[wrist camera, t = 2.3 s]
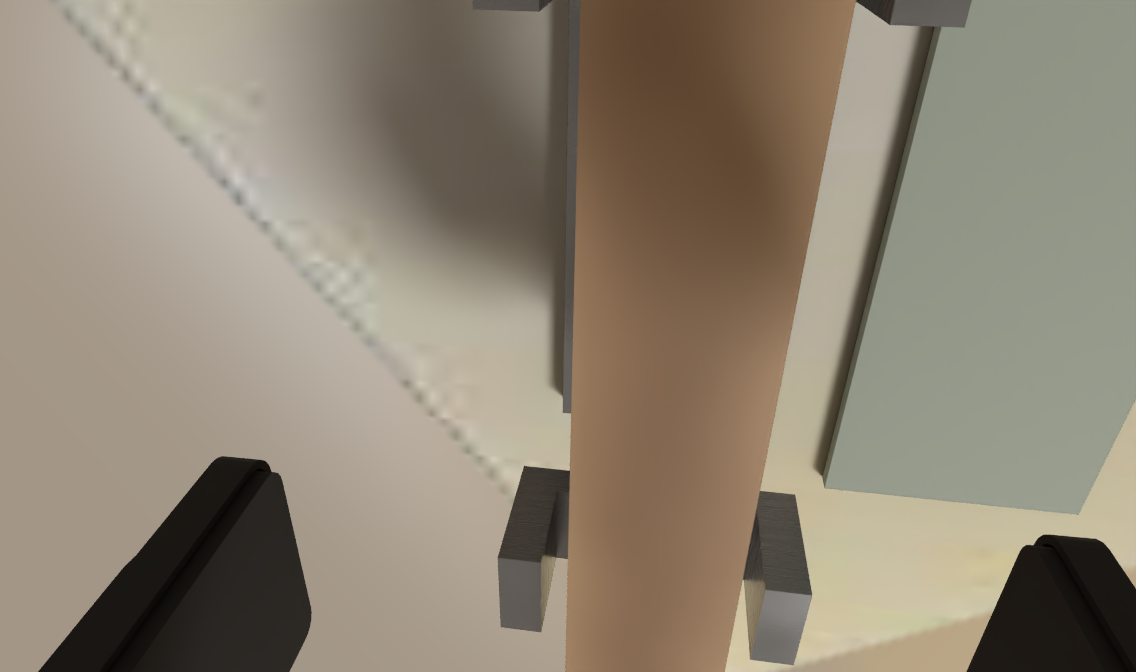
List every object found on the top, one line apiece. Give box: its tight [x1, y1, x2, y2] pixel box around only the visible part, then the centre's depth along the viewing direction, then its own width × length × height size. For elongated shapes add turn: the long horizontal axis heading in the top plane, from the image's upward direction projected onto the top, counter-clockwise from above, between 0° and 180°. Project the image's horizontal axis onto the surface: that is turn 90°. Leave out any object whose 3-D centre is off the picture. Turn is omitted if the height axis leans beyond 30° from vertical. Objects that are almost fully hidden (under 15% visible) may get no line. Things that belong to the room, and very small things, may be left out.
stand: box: [473, 0, 972, 665], centre depth 19 cm, size 7×19×11 cm, turn 179°
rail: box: [565, 0, 856, 672], centre depth 14 cm, size 4×22×4 cm, turn 179°
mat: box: [822, 0, 1136, 515], centre depth 22 cm, size 9×24×1 cm, turn 179°
